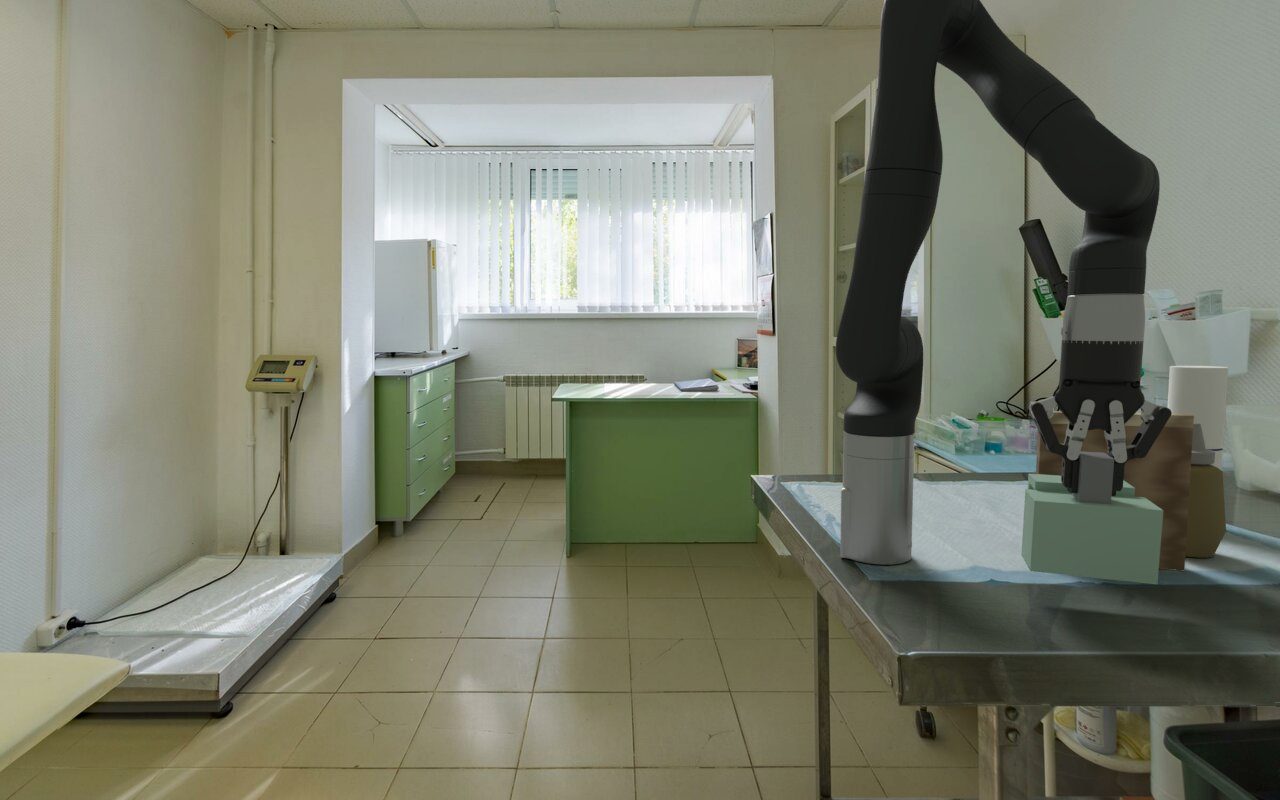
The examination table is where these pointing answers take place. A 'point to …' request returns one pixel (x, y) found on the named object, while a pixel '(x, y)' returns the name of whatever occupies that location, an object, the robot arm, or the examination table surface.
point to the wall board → (1145, 474)
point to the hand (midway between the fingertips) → (1091, 492)
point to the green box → (1091, 526)
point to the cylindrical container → (1201, 401)
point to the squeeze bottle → (1204, 501)
